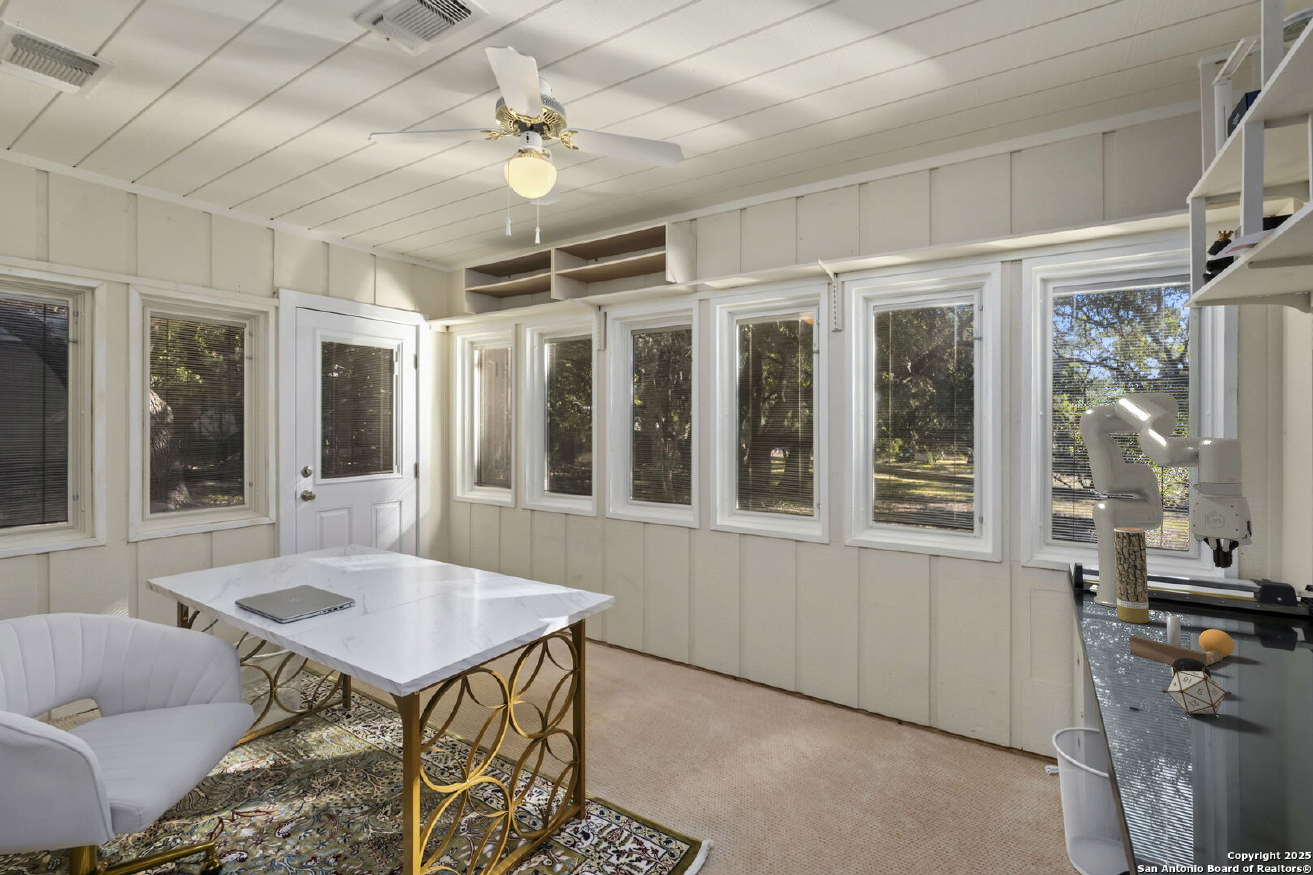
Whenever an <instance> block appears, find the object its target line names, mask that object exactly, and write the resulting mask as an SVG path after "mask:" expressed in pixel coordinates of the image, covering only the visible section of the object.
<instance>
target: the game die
mask: <svg viewBox="0 0 1313 875" xmlns="http://www.w3.org/2000/svg"><path fill="white" fill-rule="evenodd" d="M1173 669H1174V671H1176V672H1175V675H1174V677H1172V678H1171V681H1170V683H1169V685H1168V687H1167V689H1162V690H1160V692H1161V693H1163V694H1166V693H1167V694H1168V695H1169V696H1170V697H1171V698H1172V699H1173V700H1174V701H1175V702H1176V703H1177V704H1178V705H1179V706H1180V707H1181V708H1182V709H1183V710H1184V711H1185V712H1186V713H1185V714H1187V715H1189V716H1190V714H1204V715H1207V714H1208V715H1214V714H1215V715H1219V714H1218V713H1217V712H1218V710H1219V708H1220V706H1221V704H1222V703H1223V701H1224V698H1225V696H1226V695H1232V694H1233V692H1232V691H1230V690H1227V691H1225V689H1224V688H1222V687H1221V686H1220V685H1219V684H1218V683H1216V681H1215V680H1213V679H1212V677H1211V678H1210V677H1209V676H1208V675H1207V674H1206V673H1205V670H1206V669H1205V667H1204V668H1202V671H1178V670H1177V669H1176V668H1175V667H1173ZM1215 715H1214V716H1215Z"/></svg>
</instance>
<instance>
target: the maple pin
mask: <svg viewBox="0 0 1313 875" xmlns="http://www.w3.org/2000/svg"><path fill="white" fill-rule="evenodd" d="M1204 653H1206V657H1207V667H1208V666H1210V665H1213V664H1215V663H1217V662H1221V661H1222V660H1223V659H1224V657H1223V655H1222V653H1221V652H1220V651H1218V650H1211V651H1208V652H1205V651H1204Z"/></svg>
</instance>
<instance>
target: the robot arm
mask: <svg viewBox="0 0 1313 875" xmlns="http://www.w3.org/2000/svg"><path fill="white" fill-rule="evenodd" d="M1179 408H1180V406H1179V402H1178V400H1177V399H1176V398H1175V397H1174V396H1173V395H1171V394H1169V393H1167V392H1162V391H1161V392H1159V391H1158V392H1135V393H1128V394H1124V395H1122V396H1121V397H1119V398H1118V399H1117V400H1116V401H1115V403H1114V405H1110V404H1109V405H1100V406H1093V407H1090V408H1088V409H1086V410H1084V411H1083V412H1082V414H1081V416H1080V418H1079V433H1080V436H1081V439H1082V441H1083V443H1084V446H1085V447H1086V451H1087V454H1088V459H1089V465H1090V471H1091V477H1092V481H1093V482H1092V483H1093V487H1094V489H1095V490H1096V492H1097V493H1099V494H1103V495H1112V496H1113V495H1119V496H1120V495H1132V496H1133V498H1106V499H1103V500H1099V501H1098V502H1096V503H1095V504H1094V505H1093V507H1092V512H1091V513H1092V518H1093V523H1094V527H1095V531H1096V532H1095V533H1096V541H1097V558H1098V579H1099V580H1098V581H1099V583H1098V584H1099V585H1098V584H1093V585H1092V586H1090V587H1089V591H1090V592H1094V593H1096V596H1094V597H1093V602H1094V603H1096V604H1098V605H1101V606H1105V607H1110V608H1116V609H1117V591H1116V567H1115V544H1114V528H1138V529H1144V531H1153V530H1157V529H1159V528H1160V527H1161V526H1162V525H1163V522H1164V509H1163V508H1164V507H1163V504H1162V503H1163V502H1162V499H1161V492H1160V486H1159V482H1158V478H1157V475H1156V473H1155V471H1154V470H1153V468H1151V467H1150V466H1149V465H1147V464H1146V463H1145V464H1144V463H1139V462H1137V463H1136V462H1133V463H1132V462H1130V463H1129V462H1127V463H1126V462H1125V459H1124V456H1123V450H1122V448H1121V446H1120V444H1119V443H1118V442H1117V441H1116V440H1115V439H1114V438H1113V437H1111V435H1109V434H1129V433H1131V434H1133V433H1138V444H1139V447H1140V450H1141V452H1142V453H1143V454H1144V455H1145V456H1146V457H1148V458H1149V459H1150V460H1151V461H1152V462H1154V463H1155V464H1157V465H1158V466H1161V467H1164V468H1169V469H1170V468H1171V469H1172V468H1174V469H1176V468H1198V476H1199V478H1198V480H1199V482H1198V483H1194V484H1193V486H1192V488H1193V489H1194V490H1198V493H1199V494H1195V496H1194V500H1193V504H1192V511H1191V524H1190V526H1191V527H1190V529H1191V533H1192V534H1194V536H1193V538H1194V539H1195V540H1197V541H1200V542H1204V543H1205V544H1206V545H1207V546H1208V547H1209V548H1210V550H1212V557H1213V558H1212V561H1213V563H1214V567H1215V568H1221V569H1227V568H1231V565H1233V551H1235V549H1237V548H1238V547H1240V546H1249V545H1252V544H1253V541H1252V538H1251V537H1252V535H1253V521H1252V515H1251V511H1250V506H1249V503H1248V499H1247V496H1245V495H1244V496H1243V468H1242V466H1243V464H1242V463H1243V462H1242V444H1241V442H1240V440H1239V439H1237V438H1234V437H1233V438H1232V437H1229V438H1228V437H1219V438H1218V437H1212V436H1211V437H1210V436H1196V437H1193V436H1192V437H1191V436H1187V437H1184V436H1183V437H1169V436H1171V435H1172V434H1173V433H1174V431H1175V430H1176V428H1177V425H1178V421H1177V415H1178V412H1179ZM1222 540H1223V541H1222Z"/></svg>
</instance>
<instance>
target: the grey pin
mask: <svg viewBox="0 0 1313 875" xmlns="http://www.w3.org/2000/svg"><path fill="white" fill-rule="evenodd" d="M1181 630H1182V628H1181V617H1180V616H1176V615H1166V634H1167V635H1166V636H1167V637H1166V638H1167V644H1170V645H1175V646H1179V647H1182V634H1181V633H1182V632H1181Z"/></svg>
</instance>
